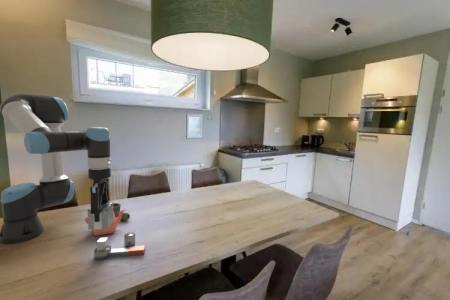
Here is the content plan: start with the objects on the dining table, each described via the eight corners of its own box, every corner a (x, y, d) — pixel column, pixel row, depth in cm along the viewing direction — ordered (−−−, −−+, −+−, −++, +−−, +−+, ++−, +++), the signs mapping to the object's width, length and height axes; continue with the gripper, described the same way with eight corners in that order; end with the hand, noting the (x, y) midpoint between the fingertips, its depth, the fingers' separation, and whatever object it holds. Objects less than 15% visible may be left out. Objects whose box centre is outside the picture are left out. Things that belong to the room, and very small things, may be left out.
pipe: (125, 223, 119) (124, 208, 118) (104, 219, 122) (104, 205, 121) (132, 218, 125) (131, 204, 124) (112, 215, 128) (112, 202, 127)
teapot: (86, 228, 112) (85, 208, 110) (125, 222, 120) (125, 203, 119) (84, 239, 102) (83, 218, 100) (127, 232, 110) (126, 212, 109)
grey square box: (88, 229, 84) (87, 209, 83) (95, 221, 91) (94, 202, 90) (108, 228, 86) (107, 208, 85) (113, 220, 93) (113, 201, 92)
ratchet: (91, 261, 87) (91, 244, 86) (97, 252, 93) (96, 236, 92) (143, 256, 91) (143, 240, 90) (145, 248, 97) (145, 233, 96)
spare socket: (123, 248, 96) (123, 237, 95) (125, 243, 100) (125, 232, 100) (134, 247, 97) (134, 237, 96) (136, 242, 101) (136, 232, 101)
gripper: (101, 173, 77) (103, 236, 80) (117, 162, 96) (118, 213, 99) (77, 173, 75) (80, 237, 78) (98, 162, 95) (100, 214, 97)
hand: (101, 224), depth 89 cm, fingers closed on grey square box, 7 cm apart
